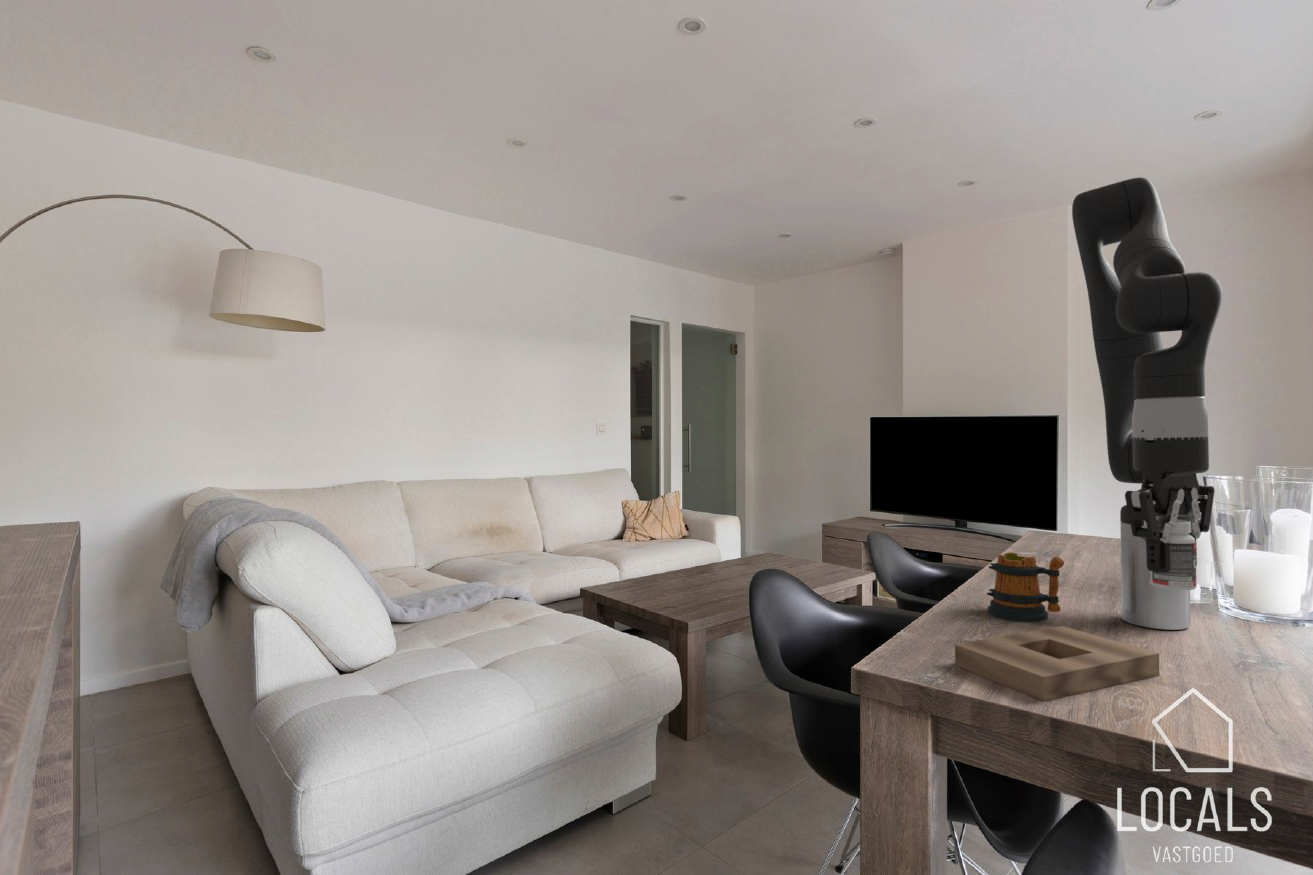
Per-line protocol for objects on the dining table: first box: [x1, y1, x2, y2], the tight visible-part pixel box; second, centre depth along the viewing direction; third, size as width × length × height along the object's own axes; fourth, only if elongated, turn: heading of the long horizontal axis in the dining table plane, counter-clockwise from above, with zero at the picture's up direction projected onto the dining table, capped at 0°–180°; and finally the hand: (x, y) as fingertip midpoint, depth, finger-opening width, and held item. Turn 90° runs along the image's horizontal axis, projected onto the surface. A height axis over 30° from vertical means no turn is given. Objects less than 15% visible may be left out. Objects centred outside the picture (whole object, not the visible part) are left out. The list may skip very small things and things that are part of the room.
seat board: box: [954, 625, 1160, 702], centre depth 92 cm, size 22×14×3 cm, turn 111°
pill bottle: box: [1149, 519, 1198, 591], centre depth 83 cm, size 5×5×8 cm
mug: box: [986, 551, 1065, 623], centre depth 119 cm, size 13×10×12 cm
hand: (1171, 568), depth 83 cm, fingers closed on pill bottle, 4 cm apart
